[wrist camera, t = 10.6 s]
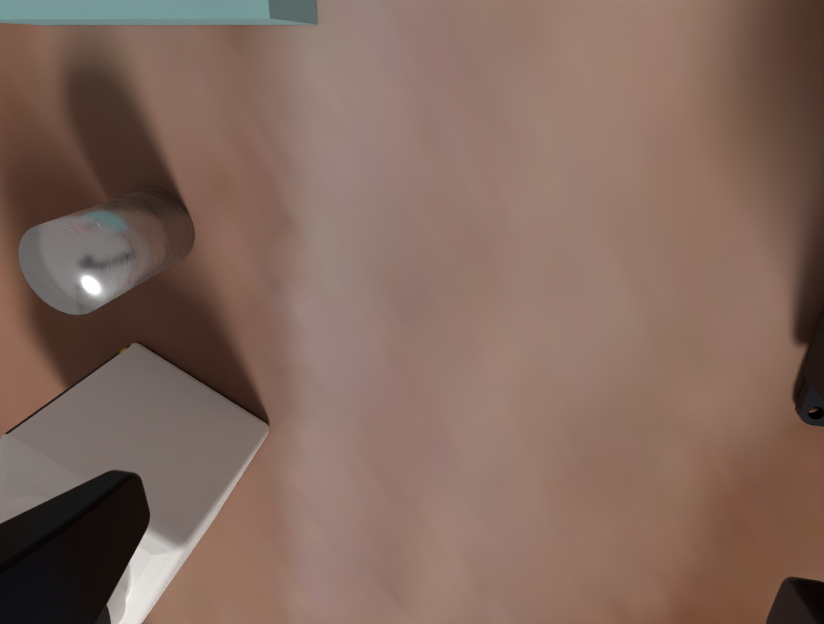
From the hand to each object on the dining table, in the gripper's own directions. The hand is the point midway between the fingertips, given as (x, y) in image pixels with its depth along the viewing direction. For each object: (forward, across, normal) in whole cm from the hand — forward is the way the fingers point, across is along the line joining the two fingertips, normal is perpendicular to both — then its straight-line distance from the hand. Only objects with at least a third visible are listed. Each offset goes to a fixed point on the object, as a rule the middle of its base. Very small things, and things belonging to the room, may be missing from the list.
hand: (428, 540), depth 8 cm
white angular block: (+13, +14, +10) cm, 22 cm away
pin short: (+13, +13, 0) cm, 18 cm away
